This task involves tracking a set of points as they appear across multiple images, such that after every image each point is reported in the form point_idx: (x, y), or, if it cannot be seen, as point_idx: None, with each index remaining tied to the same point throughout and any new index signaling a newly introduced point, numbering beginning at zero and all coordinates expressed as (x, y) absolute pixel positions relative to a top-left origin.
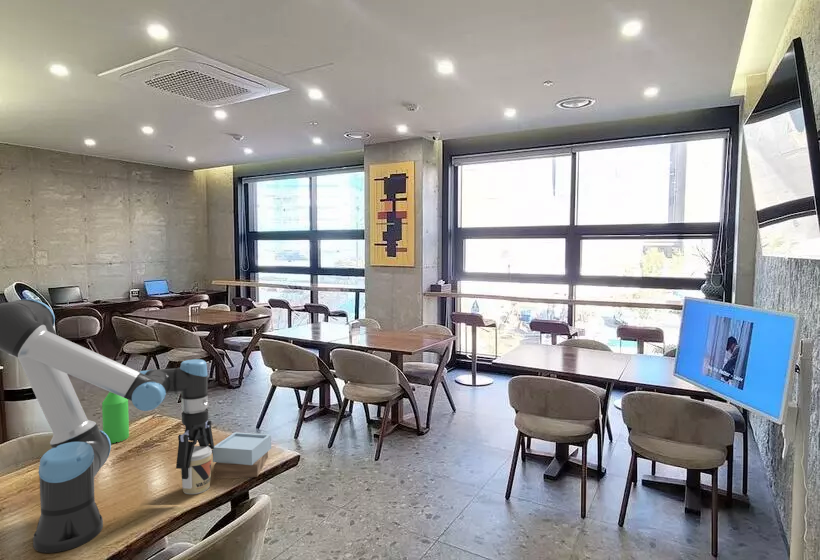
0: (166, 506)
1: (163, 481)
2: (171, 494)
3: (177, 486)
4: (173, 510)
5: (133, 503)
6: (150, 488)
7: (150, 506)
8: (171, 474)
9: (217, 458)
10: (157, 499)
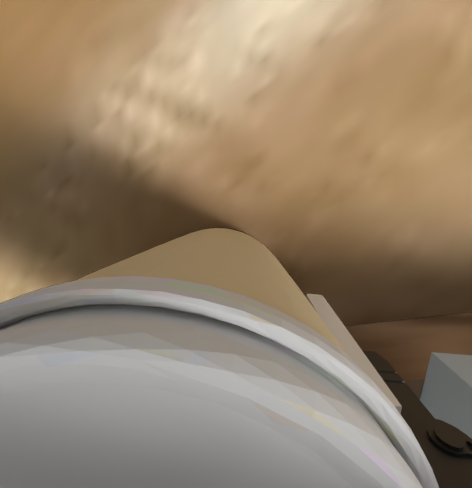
0: (30, 242)
1: (286, 32)
2: (140, 195)
3: (230, 172)
4: (10, 295)
5: (6, 34)
6: (185, 7)
7: (8, 160)
8: (393, 19)
9: (447, 415)
10: (77, 150)
